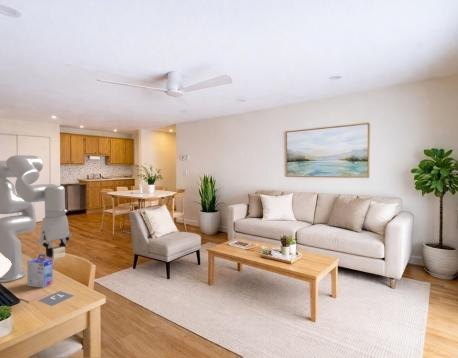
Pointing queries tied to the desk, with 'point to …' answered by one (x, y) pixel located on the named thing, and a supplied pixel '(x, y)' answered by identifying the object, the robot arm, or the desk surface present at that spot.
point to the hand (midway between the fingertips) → (56, 254)
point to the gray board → (56, 298)
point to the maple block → (57, 252)
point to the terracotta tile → (32, 296)
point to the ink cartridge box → (40, 272)
